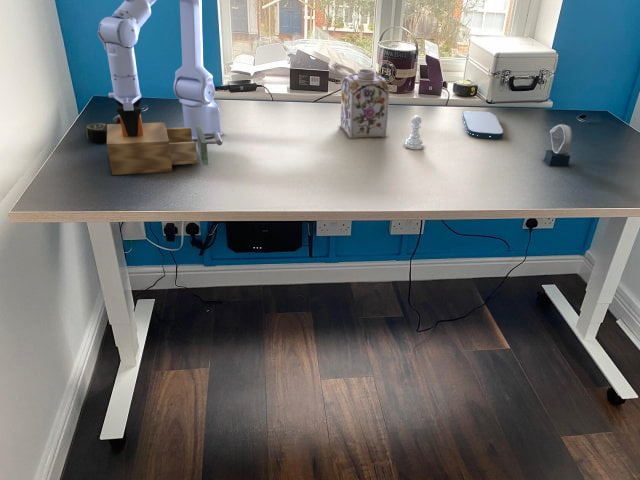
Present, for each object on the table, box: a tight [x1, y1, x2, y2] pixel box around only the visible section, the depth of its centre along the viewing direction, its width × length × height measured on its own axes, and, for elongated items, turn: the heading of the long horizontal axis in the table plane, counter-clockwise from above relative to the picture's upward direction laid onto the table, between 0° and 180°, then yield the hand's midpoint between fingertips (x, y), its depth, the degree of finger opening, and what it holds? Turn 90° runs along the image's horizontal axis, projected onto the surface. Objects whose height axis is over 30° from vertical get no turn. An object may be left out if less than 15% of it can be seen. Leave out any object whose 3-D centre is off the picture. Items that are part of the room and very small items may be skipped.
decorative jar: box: [340, 68, 390, 139], centre depth 179 cm, size 12×12×18 cm
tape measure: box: [84, 122, 108, 143], centre depth 160 cm, size 7×7×4 cm
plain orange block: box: [120, 113, 143, 136], centre depth 145 cm, size 5×5×5 cm
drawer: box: [166, 125, 223, 166], centre depth 152 cm, size 17×13×6 cm
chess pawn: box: [404, 115, 424, 150], centre depth 173 cm, size 5×5×9 cm
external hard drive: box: [461, 110, 505, 140], centre depth 196 cm, size 24×12×2 cm, turn 0°
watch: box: [543, 123, 572, 167], centre depth 170 cm, size 6×8×11 cm
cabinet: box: [106, 121, 173, 176], centre depth 148 cm, size 14×15×8 cm
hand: (132, 131), depth 146 cm, fingers closed on plain orange block, 4 cm apart
